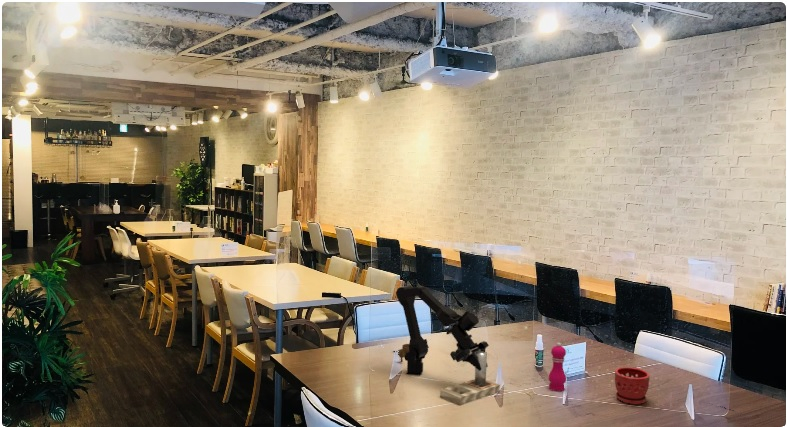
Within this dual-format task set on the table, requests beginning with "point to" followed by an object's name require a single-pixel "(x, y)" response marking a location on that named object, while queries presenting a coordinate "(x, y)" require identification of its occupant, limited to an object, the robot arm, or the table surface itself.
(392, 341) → the table surface
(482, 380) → the silver metal cylinder
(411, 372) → the robot arm
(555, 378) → the pepper mill
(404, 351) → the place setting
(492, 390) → the socket board
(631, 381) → the plant pot
